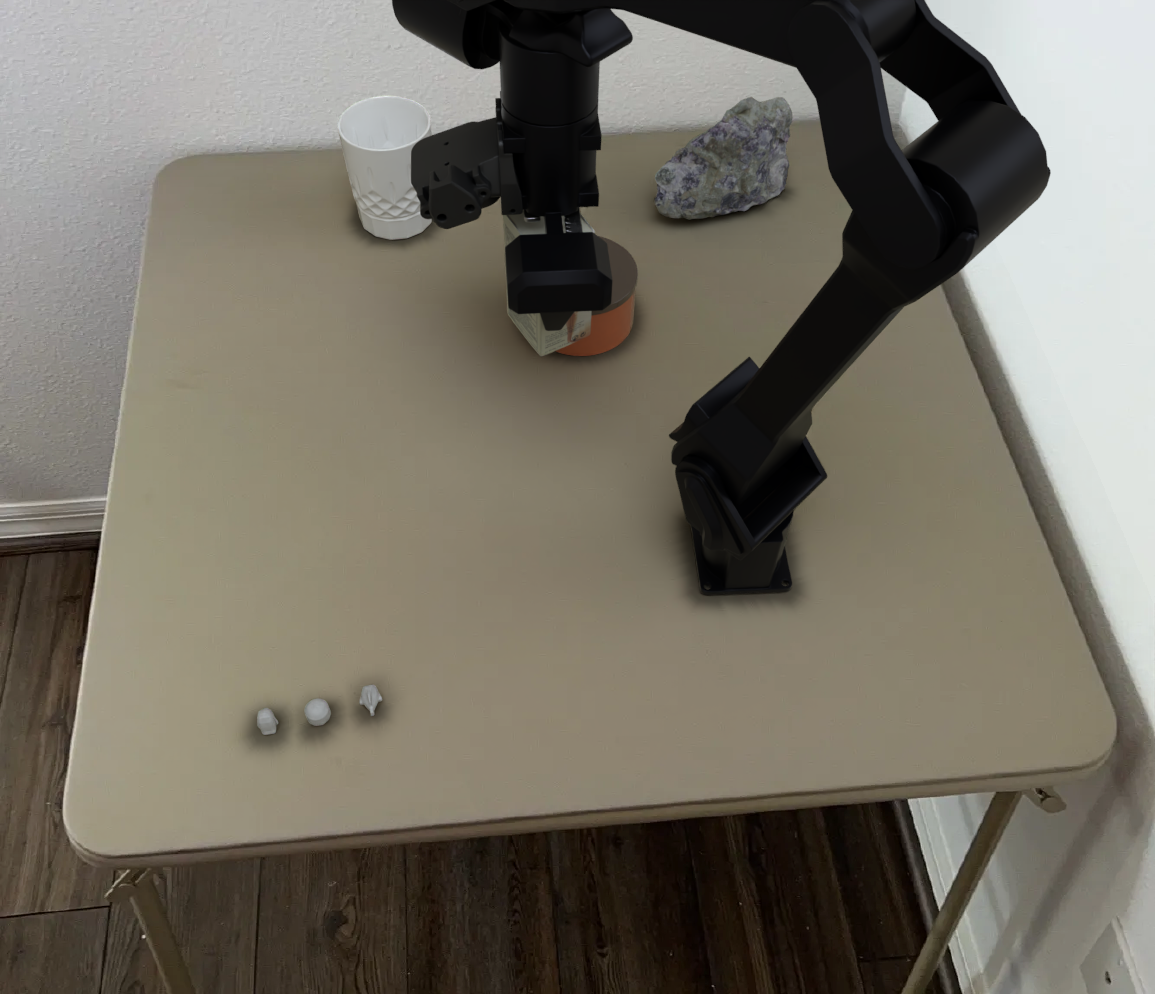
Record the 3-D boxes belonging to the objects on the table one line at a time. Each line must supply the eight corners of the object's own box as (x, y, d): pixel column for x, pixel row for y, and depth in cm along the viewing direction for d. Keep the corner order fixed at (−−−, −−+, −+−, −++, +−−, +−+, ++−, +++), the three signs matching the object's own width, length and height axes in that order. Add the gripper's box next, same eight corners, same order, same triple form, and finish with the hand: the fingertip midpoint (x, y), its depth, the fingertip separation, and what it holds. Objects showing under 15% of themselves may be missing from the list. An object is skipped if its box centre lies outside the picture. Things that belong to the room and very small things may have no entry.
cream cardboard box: (593, 336, 81) (599, 234, 72) (539, 359, 79) (539, 259, 71) (556, 288, 83) (558, 184, 74) (504, 310, 82) (499, 207, 73)
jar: (639, 355, 93) (643, 308, 89) (527, 359, 93) (526, 311, 89) (629, 280, 99) (632, 232, 95) (524, 283, 99) (523, 235, 94)
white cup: (339, 234, 102) (321, 140, 94) (374, 182, 107) (359, 88, 99) (421, 252, 101) (409, 158, 93) (452, 199, 105) (444, 104, 97)
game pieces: (381, 688, 75) (377, 674, 73) (385, 717, 73) (381, 703, 72) (258, 711, 73) (251, 697, 72) (259, 740, 72) (253, 727, 71)
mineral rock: (652, 231, 103) (660, 137, 95) (647, 159, 109) (654, 64, 101) (793, 233, 103) (813, 138, 95) (780, 160, 110) (797, 66, 102)
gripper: (412, 15, 71) (432, 214, 84) (410, 205, 60) (434, 402, 72) (587, 10, 72) (582, 208, 84) (618, 197, 61) (607, 393, 73)
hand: (549, 296), depth 79 cm, fingers closed on cream cardboard box, 6 cm apart
